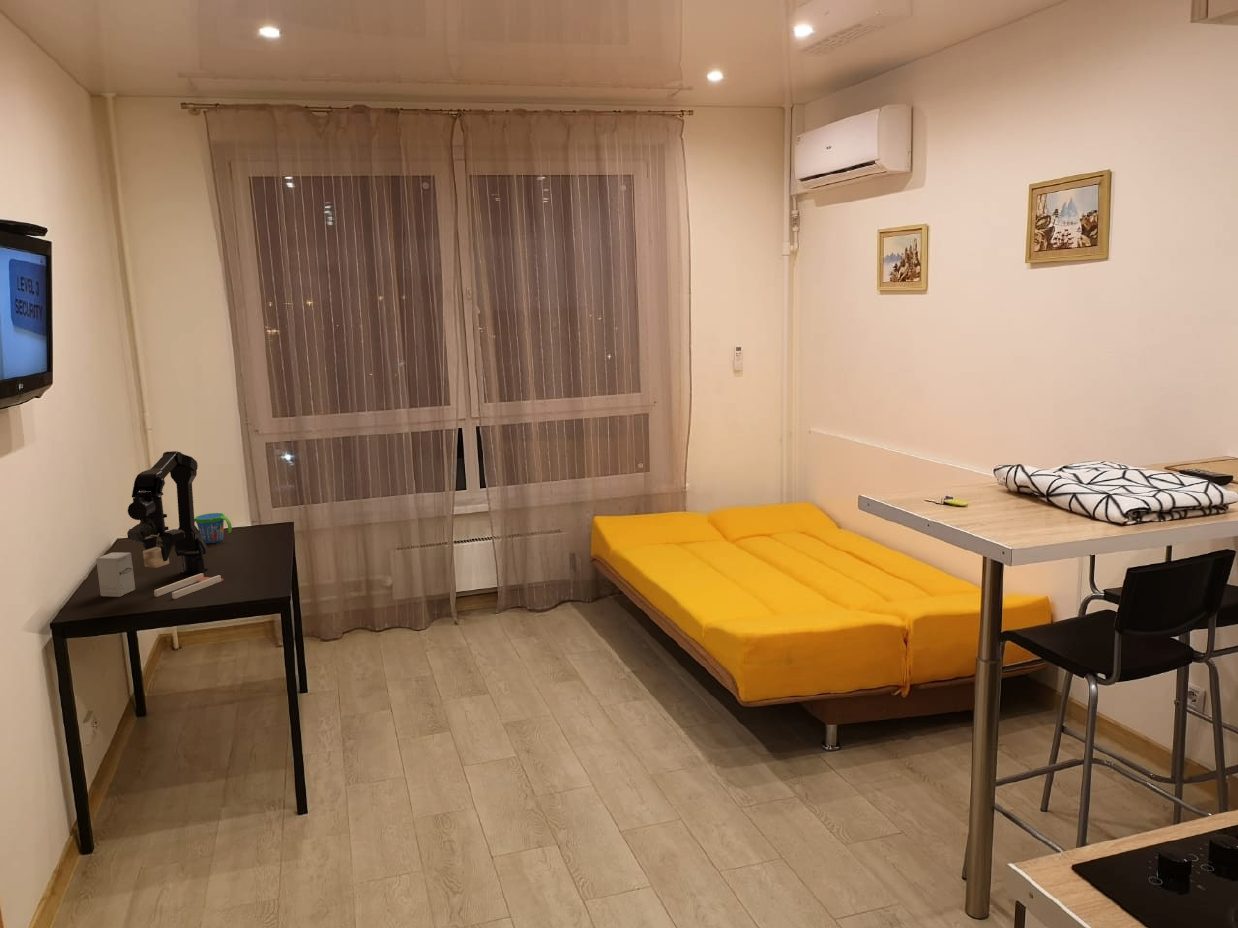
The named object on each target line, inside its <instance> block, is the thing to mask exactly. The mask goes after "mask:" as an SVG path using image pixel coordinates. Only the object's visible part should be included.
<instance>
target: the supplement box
mask: <svg viewBox="0 0 1238 928" xmlns="http://www.w3.org/2000/svg"><path fill="white" fill-rule="evenodd" d="M132 559H133V558H132V552H109V553H107V554H105V555H101V556H99V557H97V558H95V560H96V567H97V568H96V570H97V577H98V583H99V584H98V585H99V591H100V597H117V598H121V597H122V596H124V595H126V594H129V593H131V592H133V591H136V585H135V584H136V583H135V577H134V576H135V575H134V567H133V560H132Z"/></svg>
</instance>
